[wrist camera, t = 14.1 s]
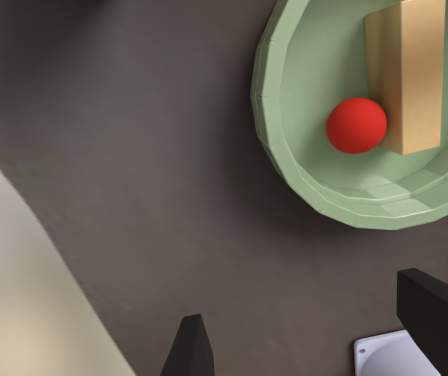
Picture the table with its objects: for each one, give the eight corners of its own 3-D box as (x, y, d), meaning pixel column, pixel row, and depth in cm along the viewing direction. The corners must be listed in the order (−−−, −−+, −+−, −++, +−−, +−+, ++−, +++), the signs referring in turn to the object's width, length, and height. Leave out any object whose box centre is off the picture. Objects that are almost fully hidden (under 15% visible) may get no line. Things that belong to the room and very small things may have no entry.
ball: (331, 127, 18) (356, 166, 17) (306, 118, 16) (333, 162, 15) (375, 93, 16) (406, 134, 15) (354, 78, 14) (388, 125, 13)
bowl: (479, 175, 19) (545, 198, 16) (269, 220, 20) (284, 253, 16) (515, -98, 14) (627, -162, 10) (227, -33, 14) (235, -73, 11)
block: (402, 135, 17) (440, 146, 15) (370, 144, 17) (402, 156, 15) (401, 5, 15) (446, -11, 12) (363, 15, 15) (400, 1, 12)
